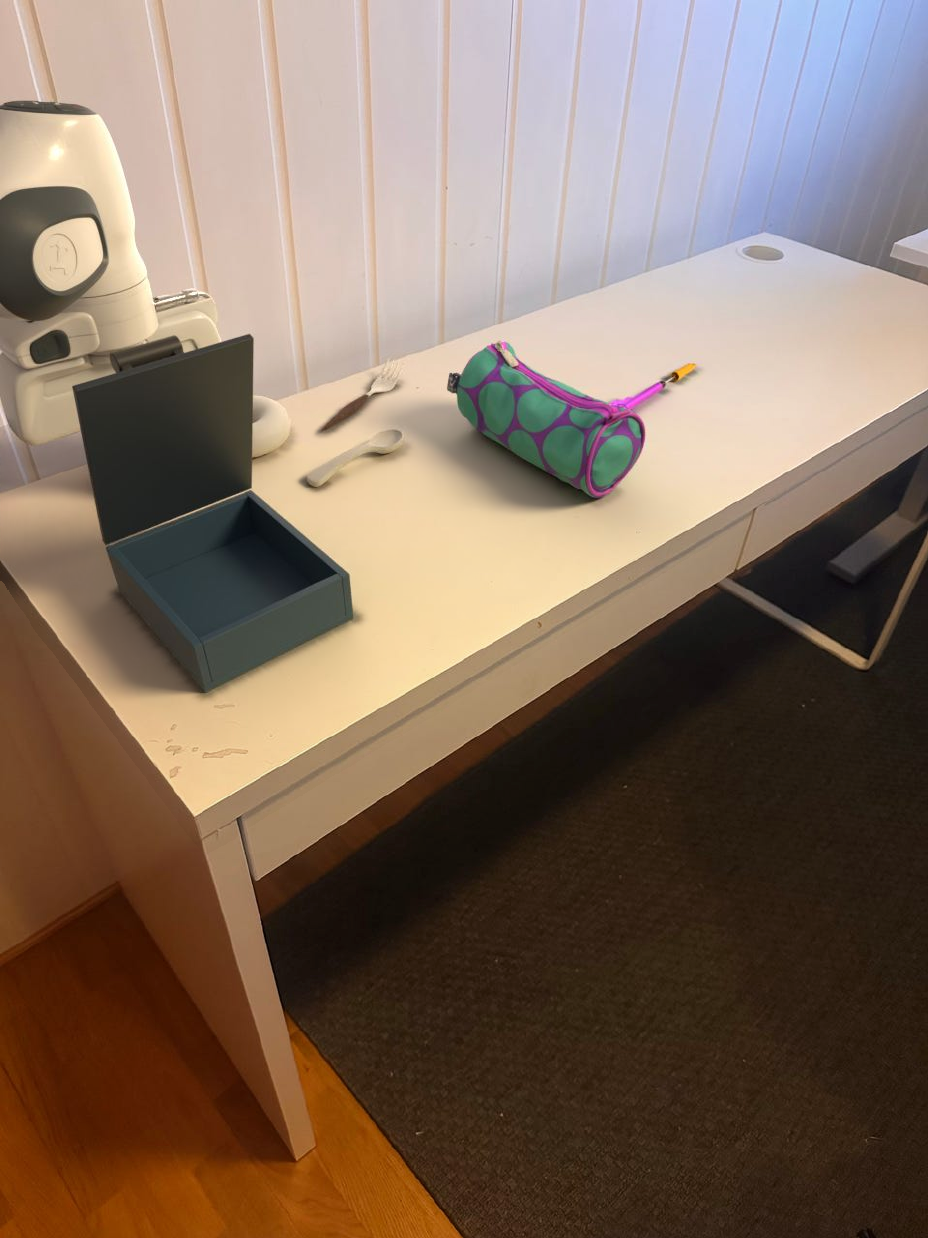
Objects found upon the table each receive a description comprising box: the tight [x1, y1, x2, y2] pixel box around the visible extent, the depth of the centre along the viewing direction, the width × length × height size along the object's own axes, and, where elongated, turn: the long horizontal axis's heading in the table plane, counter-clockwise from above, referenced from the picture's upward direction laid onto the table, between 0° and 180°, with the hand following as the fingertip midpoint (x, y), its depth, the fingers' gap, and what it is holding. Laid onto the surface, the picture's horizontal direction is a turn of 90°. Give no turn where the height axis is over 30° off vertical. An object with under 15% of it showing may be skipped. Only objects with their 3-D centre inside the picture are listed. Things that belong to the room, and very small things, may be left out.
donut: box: [252, 394, 292, 459], centre depth 93 cm, size 10×4×10 cm
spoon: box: [306, 428, 405, 488], centre depth 91 cm, size 3×12×2 cm, turn 135°
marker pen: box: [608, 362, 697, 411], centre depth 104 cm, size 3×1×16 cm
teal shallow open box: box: [105, 489, 354, 693], centre depth 73 cm, size 15×13×5 cm
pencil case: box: [446, 340, 646, 499], centre depth 90 cm, size 21×9×10 cm, turn 39°
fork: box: [321, 357, 406, 432], centre depth 100 cm, size 3×16×2 cm, turn 153°
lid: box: [72, 333, 255, 546], centre depth 70 cm, size 16×13×4 cm
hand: (139, 451), depth 86 cm, fingers closed on snack bar, 3 cm apart
